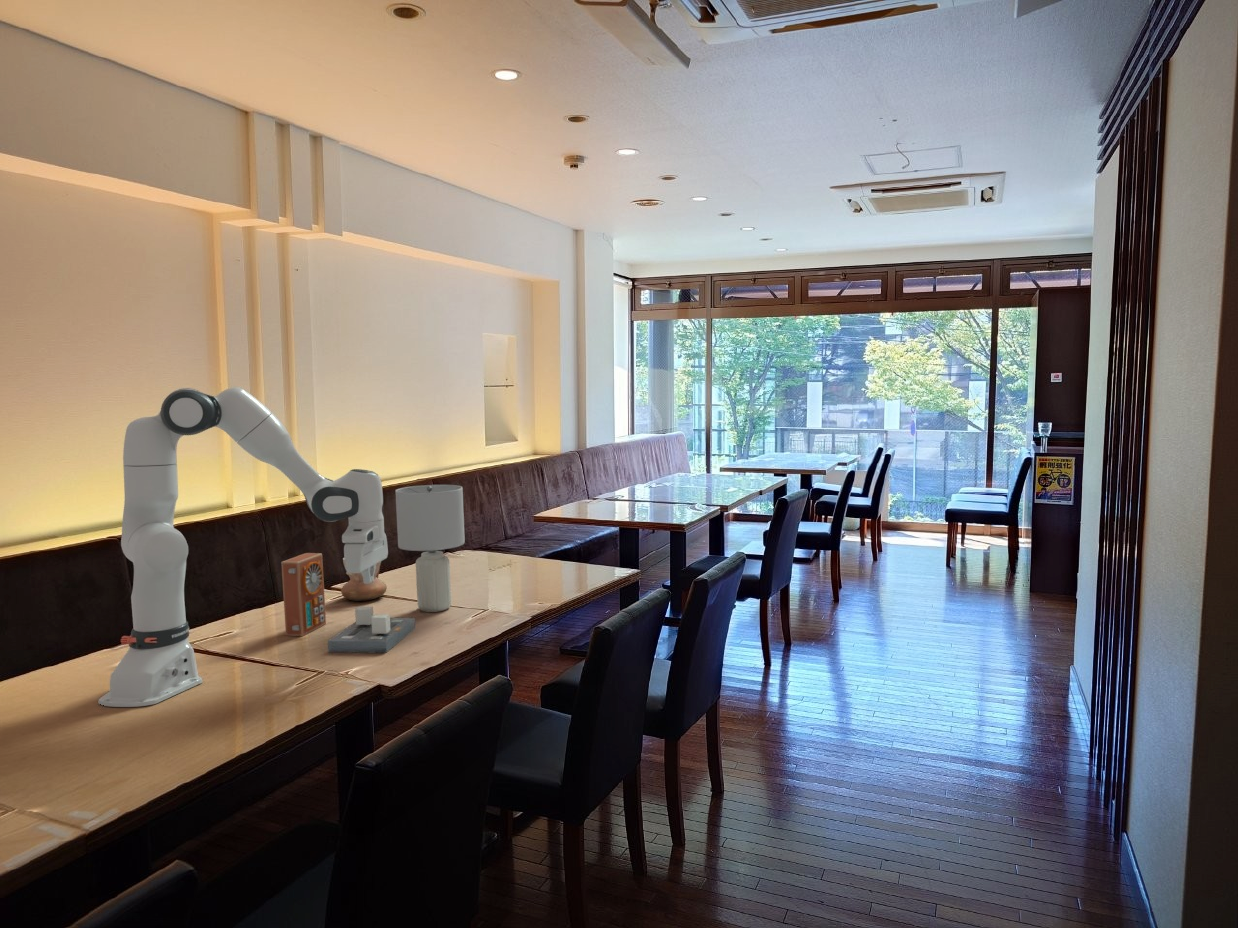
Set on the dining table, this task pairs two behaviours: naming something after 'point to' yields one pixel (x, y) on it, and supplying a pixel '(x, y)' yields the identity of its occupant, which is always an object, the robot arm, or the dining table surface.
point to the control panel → (303, 594)
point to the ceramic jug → (363, 586)
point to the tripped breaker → (380, 624)
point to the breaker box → (371, 637)
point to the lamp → (431, 537)
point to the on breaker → (363, 615)
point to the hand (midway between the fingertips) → (368, 582)
